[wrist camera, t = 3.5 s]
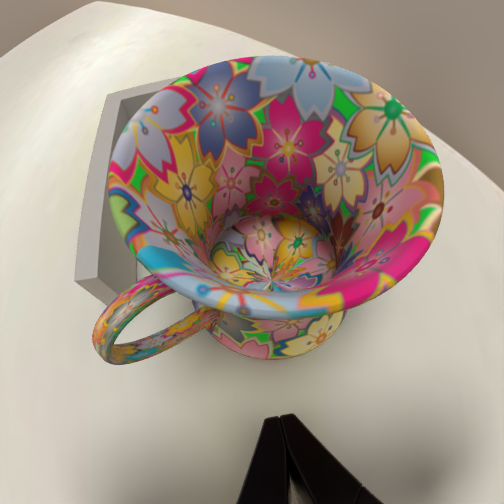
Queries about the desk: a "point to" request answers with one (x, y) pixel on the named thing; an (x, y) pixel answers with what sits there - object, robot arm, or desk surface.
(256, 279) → the mug
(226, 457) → the desk surface
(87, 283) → the grey open tray
